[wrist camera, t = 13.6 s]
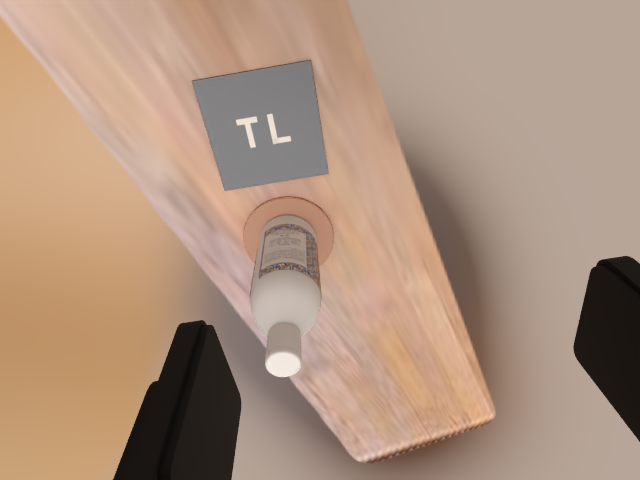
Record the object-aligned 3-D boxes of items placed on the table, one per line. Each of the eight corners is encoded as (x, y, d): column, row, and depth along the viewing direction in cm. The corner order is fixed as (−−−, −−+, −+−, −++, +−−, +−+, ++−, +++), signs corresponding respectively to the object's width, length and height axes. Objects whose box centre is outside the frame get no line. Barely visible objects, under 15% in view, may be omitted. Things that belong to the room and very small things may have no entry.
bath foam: (300, 270, 53) (302, 403, 35) (250, 249, 51) (226, 379, 34) (326, 227, 50) (342, 351, 32) (274, 204, 48) (261, 321, 31)
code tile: (192, 81, 41) (191, 81, 41) (310, 60, 41) (310, 60, 40) (225, 190, 47) (224, 190, 47) (328, 173, 47) (328, 173, 46)
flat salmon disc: (233, 204, 48) (233, 207, 48) (326, 189, 48) (326, 191, 47) (255, 279, 54) (255, 282, 53) (338, 266, 53) (339, 269, 53)
